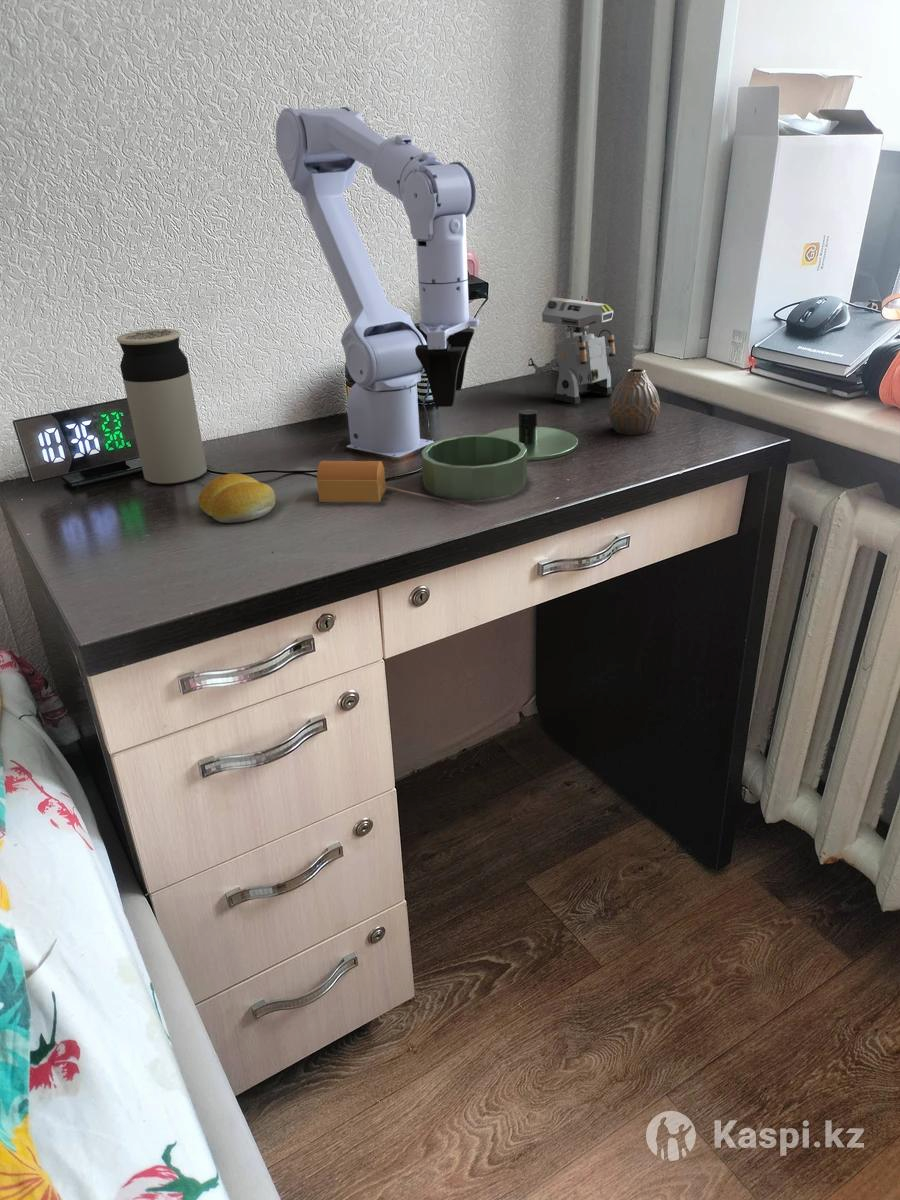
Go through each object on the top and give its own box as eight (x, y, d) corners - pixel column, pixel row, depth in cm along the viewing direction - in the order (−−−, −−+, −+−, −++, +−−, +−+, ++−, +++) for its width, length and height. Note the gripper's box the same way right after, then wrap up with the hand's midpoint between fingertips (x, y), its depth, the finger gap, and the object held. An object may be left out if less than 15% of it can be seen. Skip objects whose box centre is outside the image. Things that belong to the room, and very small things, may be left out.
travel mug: (219, 473, 114) (194, 332, 106) (165, 490, 109) (135, 343, 101) (186, 461, 119) (160, 325, 111) (133, 477, 114) (101, 336, 106)
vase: (665, 429, 122) (669, 366, 118) (647, 443, 117) (651, 378, 113) (619, 424, 126) (622, 362, 122) (599, 437, 121) (601, 373, 117)
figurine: (565, 385, 146) (567, 292, 139) (619, 397, 139) (624, 298, 132) (527, 396, 141) (527, 300, 134) (581, 409, 133) (584, 307, 126)
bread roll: (227, 531, 96) (221, 497, 95) (191, 510, 103) (185, 478, 101) (291, 510, 101) (287, 477, 99) (253, 491, 107) (248, 460, 105)
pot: (403, 491, 105) (400, 456, 103) (464, 462, 114) (462, 429, 112) (487, 511, 98) (486, 474, 96) (545, 478, 107) (545, 444, 105)
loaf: (319, 504, 102) (315, 468, 100) (328, 491, 106) (324, 456, 104) (379, 504, 102) (376, 468, 99) (386, 491, 105) (383, 456, 103)
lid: (458, 454, 116) (456, 417, 114) (513, 429, 126) (513, 394, 123) (543, 471, 109) (544, 432, 107) (595, 443, 118) (597, 406, 116)
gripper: (470, 288, 93) (474, 413, 100) (484, 271, 106) (487, 382, 112) (405, 290, 94) (413, 414, 101) (427, 273, 107) (433, 383, 113)
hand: (448, 397), depth 107 cm, fingers open, 7 cm apart
